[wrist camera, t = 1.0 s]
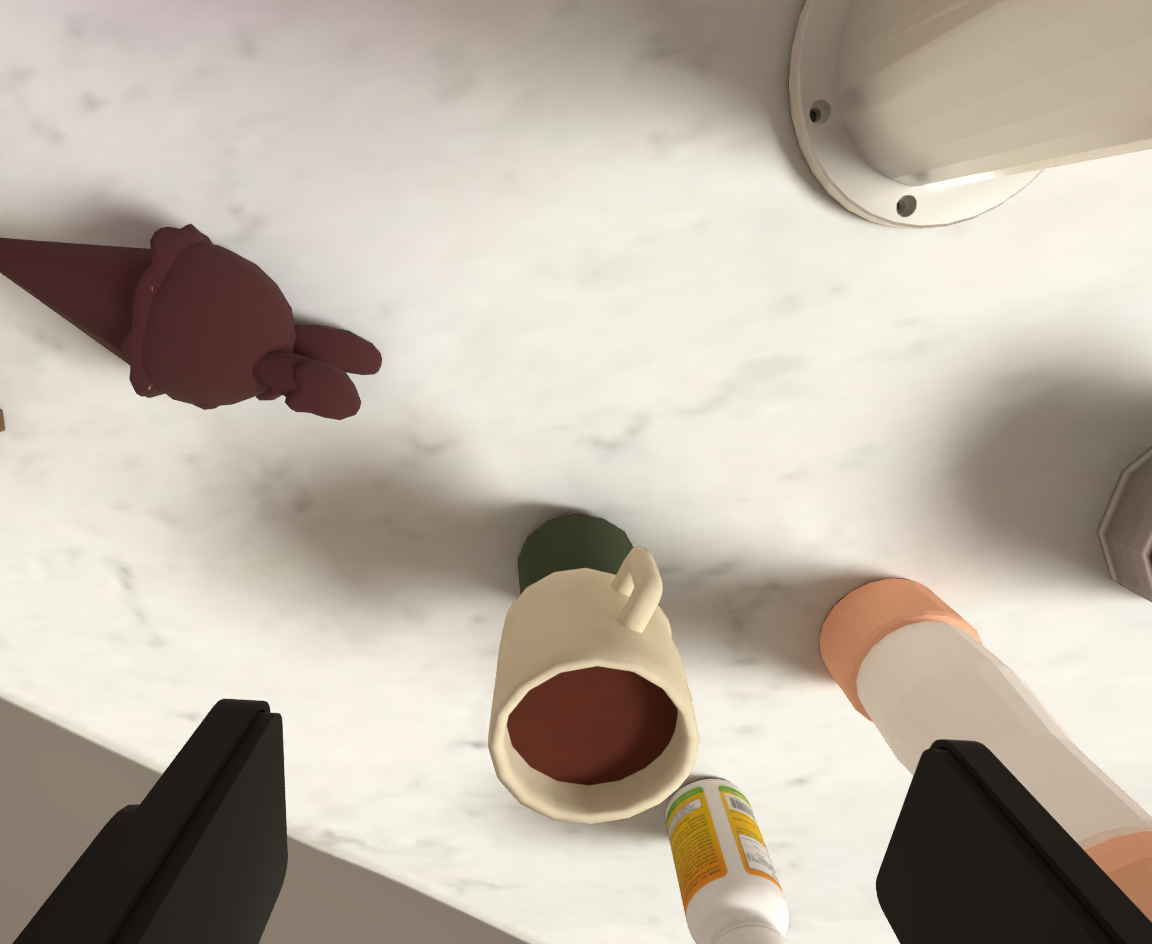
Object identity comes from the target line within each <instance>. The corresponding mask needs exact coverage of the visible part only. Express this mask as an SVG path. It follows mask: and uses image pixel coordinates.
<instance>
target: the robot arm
mask: <svg viewBox="0 0 1152 944" xmlns="http://www.w3.org/2000/svg"><path fill="white" fill-rule="evenodd" d="M789 93H790V105H791V116H792V120H793V124H794V128H795V132H796V135H797V139H798V143H799V146H800V149H801V151H802V153H803V155H804V157H805V159H806V161H807V163H808V165H809V167H810V169H811V171H812V173H813V174H814V175H815V177H816V178H817V179H818V181H819V182H820V183H821V185H822V186H823V187H824V188H825V190H826V191H827V192H828V194H830V195H831V196H832V197H833V198H834V199H836V200H837V201H838V202H839V203H840V204H842V205H843V206H844V207H845V208H846V209H847V210H849V211H851V212H853V213H855V214H857V215H859V216H861V217H863V218H865V219H866V220H868V221H870V222H874V223H878V224H882V225H886V226H890V227H894V228H912V229H924V228H932V227H941V226H948V225H952V224H955V223H959V222H962V221H966V220H970V219H973V218H975V217H977V216H979V215H981V214H984V213H986V212H988V211H990V210H992V209H994V208H996V207H998V206H1000V205H1001V204H1003V203H1004V202H1006V201H1007V200H1008V199H1010V198H1011V197H1013V196H1014V195H1015V194H1017V193H1018V192H1020V191H1021V190H1023V189H1024V188H1025V187H1026V186H1027V185H1029V184H1030V183H1031V182H1032V181H1033V180H1034V179H1035V178H1036V177H1037V176H1038V175H1039V174H1040V173H1041V172H1042V171H1043V170H1044V169H1046V168H1051V167H1056V166H1062V165H1067V164H1072V163H1078V162H1083V161H1088V160H1094V159H1099V158H1104V157H1110V156H1115V155H1120V154H1126V153H1131V152H1136V151H1142V150H1147V149H1152V0H806V3H805V5H804V7H803V10H802V12H801V15H800V18H799V22H798V26H797V30H796V34H795V38H794V42H793V47H792V51H791V63H790V76H789ZM811 110H812V111H814V112H815V113H816V115H817V119H816V121H815V122H812V120H811V118H810V111H811ZM897 203H899V204H900V210H899V212H897V210H896V208H897ZM287 861H288V851H287V826H286V801H285V776H284V751H283V726H282V717H281V715H280V714H279V713H270V706H269V704H268V702H266V701H256V700H238V699H222V700H220V701H218V702H217V703H216V704H215V705H214V706H213V708H212V709H211V710H210V712H209V713H208V714H207V716H206V717H205V718H204V720H203V721H202V722H201V724H200V725H199V726H198V728H197V729H196V730H195V732H194V733H193V734H192V736H191V737H190V738H189V740H188V741H187V742H186V744H185V745H184V746H183V748H182V749H181V751H180V752H179V753H178V755H177V756H176V757H175V759H174V760H173V761H172V763H171V764H170V765H169V767H168V768H167V769H166V771H165V772H164V773H163V775H162V776H161V777H160V779H159V780H158V781H157V783H156V784H155V785H154V787H153V788H152V789H151V791H150V792H149V793H148V795H147V796H146V797H145V799H144V800H143V801H142V803H141V804H140V805H137V804H136V805H128V806H126V807H125V808H123V809H121V810H120V811H118V812H117V813H116V814H115V815H114V816H113V817H112V818H111V819H110V820H109V822H108V823H107V824H106V825H105V826H104V828H103V829H102V830H101V831H100V833H99V834H98V835H97V836H96V838H95V839H94V840H93V842H92V843H91V844H90V845H89V847H88V848H87V849H86V851H85V852H84V853H83V854H82V856H81V857H80V858H79V859H78V861H77V862H76V863H75V865H74V866H73V867H72V868H71V870H70V871H69V872H68V873H67V875H66V876H65V877H64V879H63V880H62V881H61V882H60V884H59V885H58V886H57V888H56V889H55V890H54V891H53V893H52V894H51V895H50V897H49V898H48V899H47V900H46V902H45V903H44V904H43V906H42V907H41V908H40V909H39V911H38V912H37V913H36V914H35V916H34V917H33V918H32V919H31V921H30V922H29V923H28V925H27V926H26V927H25V928H24V930H23V931H22V932H21V934H20V935H19V936H18V938H17V939H16V940H15V941H14V943H13V944H258V943H259V941H260V939H261V936H262V934H263V931H264V929H265V926H266V924H267V922H268V920H269V917H270V914H271V912H272V910H273V908H274V905H275V903H276V900H277V898H278V896H279V893H280V890H281V888H282V885H283V882H284V878H285V873H286V869H287ZM876 892H877V897H878V900H879V904H880V906H881V908H882V910H883V912H884V914H885V916H886V918H887V920H888V921H889V923H890V925H891V927H892V929H893V931H894V933H895V935H896V936H897V938H898V940H899V942H900V944H1152V922H1151V921H1150V920H1149V919H1148V918H1147V917H1146V916H1145V915H1144V914H1143V912H1142V911H1141V910H1140V909H1139V908H1138V907H1137V906H1136V905H1135V904H1134V903H1133V902H1132V901H1131V900H1130V899H1129V898H1128V897H1127V895H1126V894H1125V893H1124V892H1123V891H1122V890H1121V889H1120V888H1119V887H1118V886H1117V885H1116V884H1115V883H1114V882H1113V881H1112V879H1111V878H1110V877H1109V876H1108V875H1107V874H1106V873H1105V872H1104V871H1103V870H1102V869H1101V868H1100V867H1099V866H1098V865H1097V864H1096V862H1095V861H1094V860H1093V859H1092V858H1091V857H1090V856H1089V855H1088V854H1087V853H1086V852H1085V851H1084V850H1083V849H1082V848H1081V846H1080V845H1079V844H1078V843H1077V842H1076V841H1075V840H1074V839H1073V838H1072V837H1071V836H1070V835H1069V834H1068V833H1067V832H1066V831H1065V829H1064V828H1063V827H1062V826H1061V825H1060V824H1059V823H1058V822H1057V821H1056V820H1055V819H1054V818H1053V817H1052V816H1051V815H1050V813H1049V812H1048V811H1047V810H1046V809H1045V808H1044V807H1043V806H1042V805H1041V804H1040V803H1039V802H1038V801H1037V800H1036V799H1035V797H1034V796H1033V795H1032V794H1031V793H1030V792H1029V791H1028V790H1027V789H1026V788H1025V787H1024V786H1023V785H1022V784H1021V783H1020V782H1019V780H1018V779H1017V778H1016V777H1015V776H1014V775H1013V774H1012V773H1011V772H1010V771H1009V770H1008V769H1007V768H1006V767H1005V766H1004V764H1003V763H1002V762H1001V761H1000V760H999V759H998V758H997V757H996V756H995V755H994V754H993V753H992V752H991V751H990V750H989V749H988V748H987V747H986V746H985V745H983V744H982V743H980V742H977V741H967V740H949V739H939V740H936V741H934V742H933V743H932V745H931V746H930V748H929V749H926V750H925V751H923V753H922V755H921V757H920V760H919V762H918V765H917V768H916V771H915V773H914V776H913V779H912V782H911V784H910V787H909V790H908V793H907V795H906V798H905V801H904V804H903V807H902V809H901V812H900V815H899V818H898V820H897V823H896V826H895V829H894V831H893V834H892V837H891V840H890V842H889V845H888V848H887V851H886V853H885V856H884V859H883V862H882V865H881V867H880V870H879V873H878V876H877V880H876Z"/></svg>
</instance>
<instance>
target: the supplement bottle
mask: <svg viewBox="0 0 1152 944" xmlns="http://www.w3.org/2000/svg"><path fill="white" fill-rule="evenodd" d="M665 818H666V825H667V831H668V836H669V840H670V845H671V850H672V854H673V859H674V864H675V868H676V873H677V878H678V882H679V887H680V892H681V896H682V901H683V906H684V911H685V915H686V920H687V924H688V928H689V931H690V933H691V936H692V938H693V939H694V941H695V942H696V944H787V942H786V940H785V938H784V935H785V933H786V931H787V927H788V922H789V912H788V907H787V903H786V900H785V897H784V894H783V892H782V889H781V886H780V884H779V881H778V878H777V876H776V873H775V870H774V868H773V865H772V862H771V860H770V857H769V854H768V851H767V849H766V846H765V843H764V841H763V838H762V835H761V833H760V830H759V827H758V825H757V822H756V819H755V817H754V814H753V811H752V808H751V806H750V804H749V801H748V799H747V797H746V796H745V794H744V793H743V792H742V791H741V789H739V788H738V787H737V786H736V785H734V784H732V783H730V782H728V781H724V780H720V779H704V780H699V781H696V782H693V783H690V784H688V785H686V786H684V787H683V788H681V789H680V790H679V791H677V792H676V793H675V794H674V795H673V797H672V798H671V799H670V801H669V803H668V806H667V809H666V816H665Z"/></svg>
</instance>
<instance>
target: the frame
mask: <svg viewBox="0 0 1152 944" xmlns="http://www.w3.org/2000/svg"><path fill="white" fill-rule="evenodd" d="M4 430H5V425H4V418H3V411H2V410H1V409H0V432H1V431H4Z"/></svg>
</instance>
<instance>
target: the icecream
mask: <svg viewBox="0 0 1152 944" xmlns="http://www.w3.org/2000/svg"><path fill="white" fill-rule="evenodd" d="M150 244H151V249H142V248H128V247H115V246H101V245H87V244H73V243H60V242H46V241H32V240H21V239H9V238H0V273H2V274H3V275H4V276H6V277H7V278H9V279H10V280H12V281H13V282H14V283H16V284H17V285H19V286H20V287H21V288H23V289H24V290H26V291H27V292H28V293H30V294H31V295H33V296H34V297H35V298H37V299H38V300H40V301H41V302H42V303H44V304H45V305H47V306H48V307H49V308H51V309H52V310H54V311H55V312H56V313H58V314H59V315H61V316H62V317H63V318H65V319H66V320H68V321H69V322H70V323H72V324H73V325H75V326H76V327H77V328H79V329H80V330H82V331H83V332H84V333H86V334H87V335H89V336H90V337H91V338H93V339H94V340H96V341H97V342H98V343H100V344H101V345H103V346H104V347H105V348H107V349H108V350H110V351H111V352H112V353H114V354H115V355H117V356H118V357H119V358H121V359H122V360H124V361H125V362H126V363H128V364H129V365H131V368H130V381H131V384H132V386H133V388H134V390H135V392H136V394H138V395H140V396H146V397H147V398H150V397H154V396H158V395H162V394H167V395H168V396H169V397H171V398H172V399H174V400H178V401H182V402H186V403H190V404H193V405H195V406H197V407H200V408H202V409H204V410H206V409H214V408H217V407H218V406H220V405H231V404H235V403H238V402H240V401H243V400H246V399H249V398H252V397H255V396H256V398H258V399H259V400H274V399H276V398H278V397H279V396H281V395H284V396H285V397H286V400H285V403H286V404H287V405H288V406H289V408H290V409H292V410H294V411H296V412H307V413H312V414H315V415H318V416H321V417H324V418H330V419H337V420H341V419H344V418H347V417H350V416H353V415H355V414H357V412H358V410H359V409H360V405H361V400H360V397H359V395H358V392H357V389H356V387H355V385H354V383H353V382H352V381H351V379H350V378H349V376H348V375H347V374H346V372H348V373H354V374H360V375H369V374H375V373H377V372H378V371H379V369H380V367H381V363H382V358H381V353H380V352H379V351H378V350H377V349H376V347H375V346H374V345H373V344H372V343H370V342H369V341H367V340H365V339H363V338H361V337H359V336H357V335H355V334H353V333H352V332H350V331H346V330H341V329H335V328H330V327H325V326H319V325H294V321H293V315H292V309H291V306H290V305H289V303H288V302H287V300H286V298H285V297H284V295H283V293H282V292H281V290H280V289H279V287H278V285H277V284H276V283H275V282H274V281H273V280H272V279H271V278H270V277H269V276H268V275H267V274H266V273H265V272H264V271H263V270H262V269H261V268H260V267H258V266H257V265H256V264H254V263H253V262H251V261H249V260H247V259H245V258H243V257H241V256H239V255H237V254H235V253H234V252H232V251H230V250H228V249H226V248H223V247H221V246H219V245H213V244H212V242H211V241H210V239H209V238H208V237H207V236H206V235H204V234H203V233H201V232H199V231H198V230H197V229H196V228H195V227H194V226H193V225H192V224H189V225H186V226H185V227H183V228H181V229H177V228H172V227H165V228H160V229H159V230H157V231H156V232H155V233H154V235H153V237H152V239H151V241H150Z"/></svg>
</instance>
